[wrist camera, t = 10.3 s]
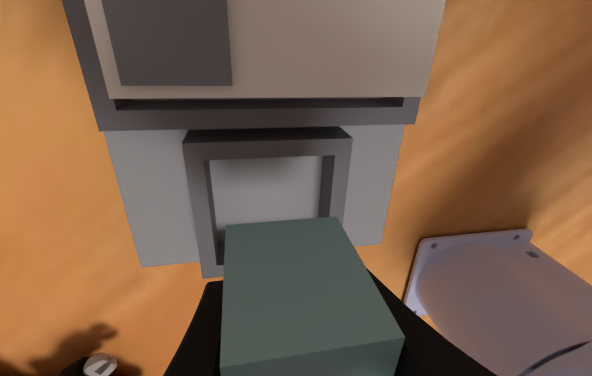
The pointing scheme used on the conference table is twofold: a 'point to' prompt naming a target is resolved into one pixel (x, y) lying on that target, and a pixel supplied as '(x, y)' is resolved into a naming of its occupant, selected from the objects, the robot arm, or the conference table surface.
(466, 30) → the conference table surface
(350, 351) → the teal block
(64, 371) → the robot toy
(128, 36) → the beige rectangular block
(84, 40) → the jig
